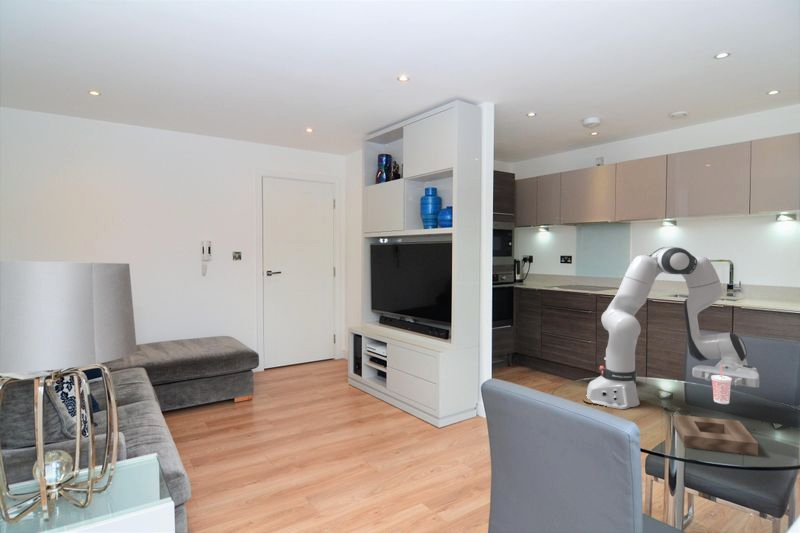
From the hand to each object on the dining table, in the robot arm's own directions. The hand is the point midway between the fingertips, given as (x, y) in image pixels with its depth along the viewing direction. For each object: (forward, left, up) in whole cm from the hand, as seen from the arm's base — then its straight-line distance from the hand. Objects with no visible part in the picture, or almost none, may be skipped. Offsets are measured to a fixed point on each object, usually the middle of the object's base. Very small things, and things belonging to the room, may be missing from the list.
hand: (720, 381), depth 159 cm
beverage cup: (0, +1, -8) cm, 8 cm away
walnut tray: (-5, -12, -17) cm, 22 cm away
